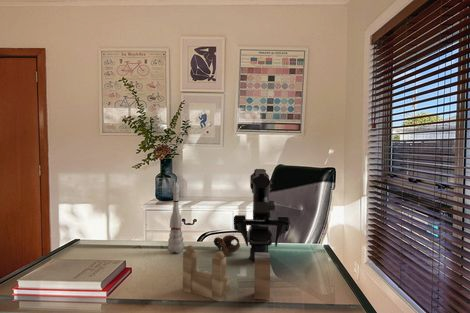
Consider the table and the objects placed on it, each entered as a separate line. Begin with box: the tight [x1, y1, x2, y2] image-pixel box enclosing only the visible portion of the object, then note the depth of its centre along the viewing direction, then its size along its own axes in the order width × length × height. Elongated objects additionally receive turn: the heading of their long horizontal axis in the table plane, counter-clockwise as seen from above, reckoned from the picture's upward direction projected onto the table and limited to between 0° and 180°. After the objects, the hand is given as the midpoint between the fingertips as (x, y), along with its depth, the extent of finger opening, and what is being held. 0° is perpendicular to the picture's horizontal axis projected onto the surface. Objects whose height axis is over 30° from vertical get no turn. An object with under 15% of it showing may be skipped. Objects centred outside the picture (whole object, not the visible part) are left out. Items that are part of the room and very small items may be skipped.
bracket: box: [253, 252, 271, 299], centre depth 97 cm, size 5×5×13 cm
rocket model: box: [167, 181, 185, 254], centre depth 139 cm, size 7×7×30 cm
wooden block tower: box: [182, 245, 231, 302], centre depth 101 cm, size 8×14×14 cm, turn 59°
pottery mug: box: [213, 234, 241, 256], centre depth 139 cm, size 12×10×8 cm
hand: (261, 245), depth 105 cm, fingers open, 9 cm apart
